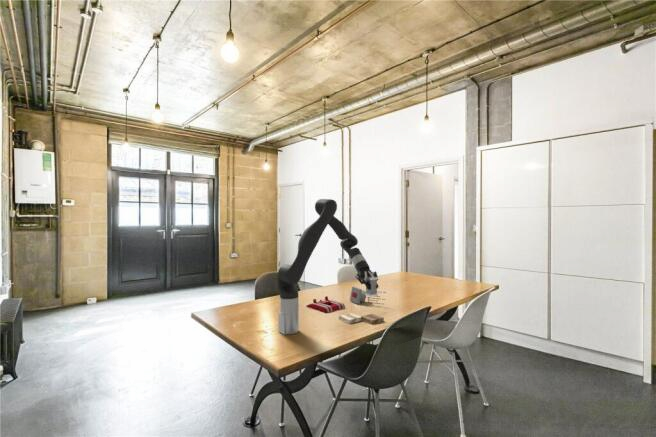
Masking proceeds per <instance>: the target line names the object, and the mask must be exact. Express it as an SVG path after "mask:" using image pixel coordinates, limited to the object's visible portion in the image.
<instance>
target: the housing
mask: <svg viewBox="0 0 656 437" xmlns="http://www.w3.org/2000/svg"><path fill="white" fill-rule="evenodd" d="M366 279H367V280H368V283H369V284H370V286H371V289H370V290H368V289H367V287H366V286H365V292H366V293H365V295H366V297H370V298H374V297H375V296H379V294H378V288H377V284H378V280H379V276H378V277H373V276H369V277H366ZM377 279H378V280H377Z"/></svg>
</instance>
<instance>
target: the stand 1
mask: <svg viewBox="0 0 656 437" xmlns="http://www.w3.org/2000/svg"><path fill="white" fill-rule="evenodd" d="M338 320H339V321H341V322H344V323H346V324H354V323H357V322H363V321H362V317H361V316H360V315H357V314H354V313H352V312H350V313H346V314H343V315H339V316H338Z"/></svg>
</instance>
